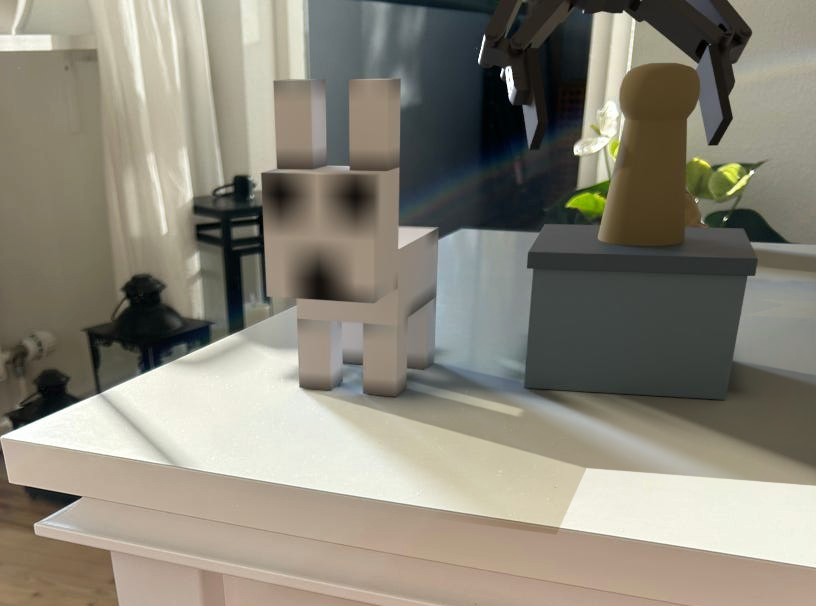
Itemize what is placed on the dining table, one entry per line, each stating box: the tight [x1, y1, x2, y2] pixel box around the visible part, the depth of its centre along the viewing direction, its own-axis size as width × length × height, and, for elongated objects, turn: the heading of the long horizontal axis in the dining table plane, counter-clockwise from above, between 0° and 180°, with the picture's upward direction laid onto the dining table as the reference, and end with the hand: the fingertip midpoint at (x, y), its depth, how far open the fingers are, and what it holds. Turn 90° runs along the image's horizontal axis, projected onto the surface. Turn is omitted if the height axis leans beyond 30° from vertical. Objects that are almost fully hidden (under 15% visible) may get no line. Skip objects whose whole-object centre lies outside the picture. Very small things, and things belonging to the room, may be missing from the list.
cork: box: [598, 62, 700, 246], centre depth 70 cm, size 6×6×11 cm
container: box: [523, 223, 759, 401], centre depth 76 cm, size 15×13×10 cm
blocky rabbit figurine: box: [260, 77, 440, 398], centre depth 72 cm, size 8×18×20 cm, turn 159°
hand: (630, 134), depth 74 cm, fingers open, 13 cm apart
